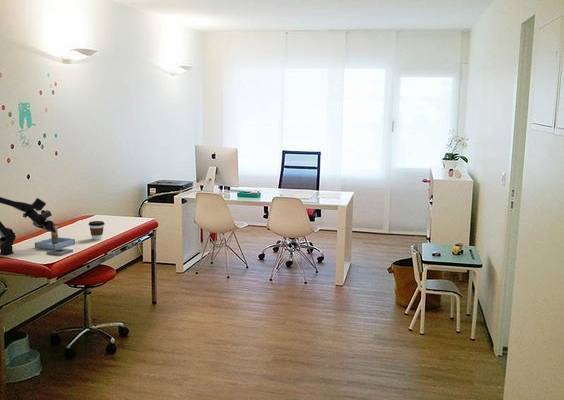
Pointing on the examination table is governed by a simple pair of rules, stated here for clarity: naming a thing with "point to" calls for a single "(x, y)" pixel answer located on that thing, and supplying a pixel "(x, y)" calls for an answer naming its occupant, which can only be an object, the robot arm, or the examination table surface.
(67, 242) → the pin tray
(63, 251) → the plate
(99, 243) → the examination table surface
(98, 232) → the coffee cup
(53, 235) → the pin
